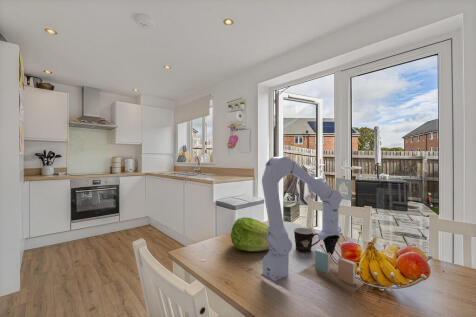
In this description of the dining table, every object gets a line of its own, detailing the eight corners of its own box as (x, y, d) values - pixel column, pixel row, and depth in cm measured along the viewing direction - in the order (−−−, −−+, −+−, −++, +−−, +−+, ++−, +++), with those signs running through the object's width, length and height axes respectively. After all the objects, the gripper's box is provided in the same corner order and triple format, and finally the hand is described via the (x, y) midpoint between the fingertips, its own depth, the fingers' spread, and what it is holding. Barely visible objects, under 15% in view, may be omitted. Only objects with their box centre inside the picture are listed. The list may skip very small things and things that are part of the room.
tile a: (327, 273, 79) (327, 254, 79) (314, 268, 83) (315, 250, 83) (329, 272, 80) (329, 253, 80) (317, 266, 84) (317, 249, 84)
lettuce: (278, 262, 91) (283, 228, 93) (224, 248, 99) (230, 216, 100) (281, 252, 108) (285, 223, 109) (235, 240, 115) (239, 213, 116)
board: (348, 301, 66) (348, 297, 66) (297, 276, 80) (297, 273, 80) (372, 278, 78) (372, 275, 78) (325, 260, 92) (325, 257, 92)
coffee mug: (291, 253, 98) (292, 232, 98) (295, 246, 106) (296, 226, 106) (319, 259, 93) (319, 236, 93) (321, 251, 101) (321, 230, 100)
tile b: (352, 284, 72) (353, 264, 72) (338, 278, 76) (338, 258, 76) (354, 283, 74) (355, 262, 73) (340, 276, 77) (340, 257, 77)
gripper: (331, 225, 78) (330, 262, 78) (348, 218, 87) (348, 251, 87) (313, 220, 83) (312, 255, 83) (331, 214, 93) (331, 246, 93)
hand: (329, 253), depth 86 cm, fingers closed
